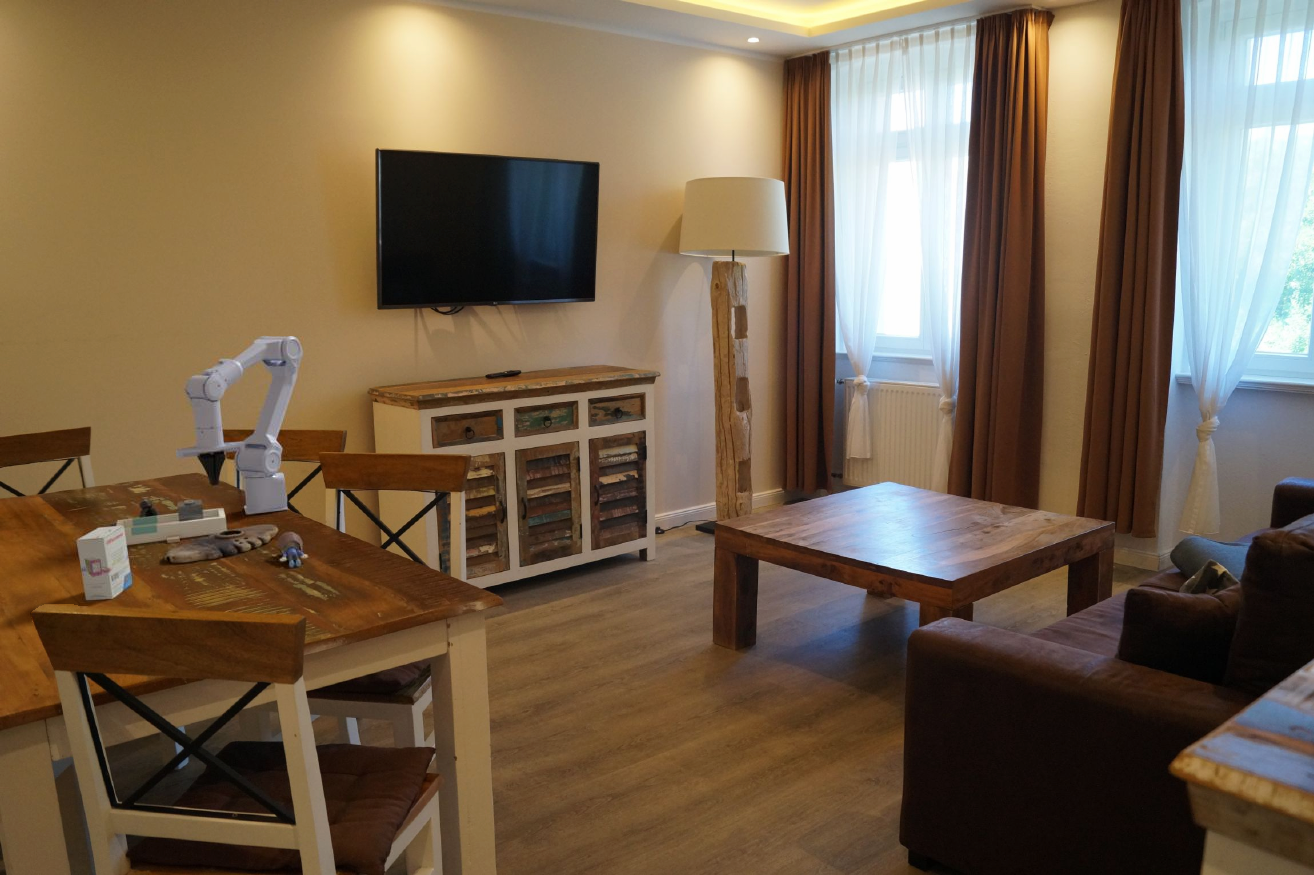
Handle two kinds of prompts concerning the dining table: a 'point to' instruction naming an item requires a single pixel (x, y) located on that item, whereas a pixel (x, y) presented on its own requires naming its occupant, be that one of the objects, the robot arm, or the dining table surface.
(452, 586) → the dining table surface
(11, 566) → the dining table surface
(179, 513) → the rider
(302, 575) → the dining table surface
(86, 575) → the ink box
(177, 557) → the mask
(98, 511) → the dining table surface
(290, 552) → the figurine
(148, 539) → the white rectangular tray
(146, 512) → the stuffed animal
